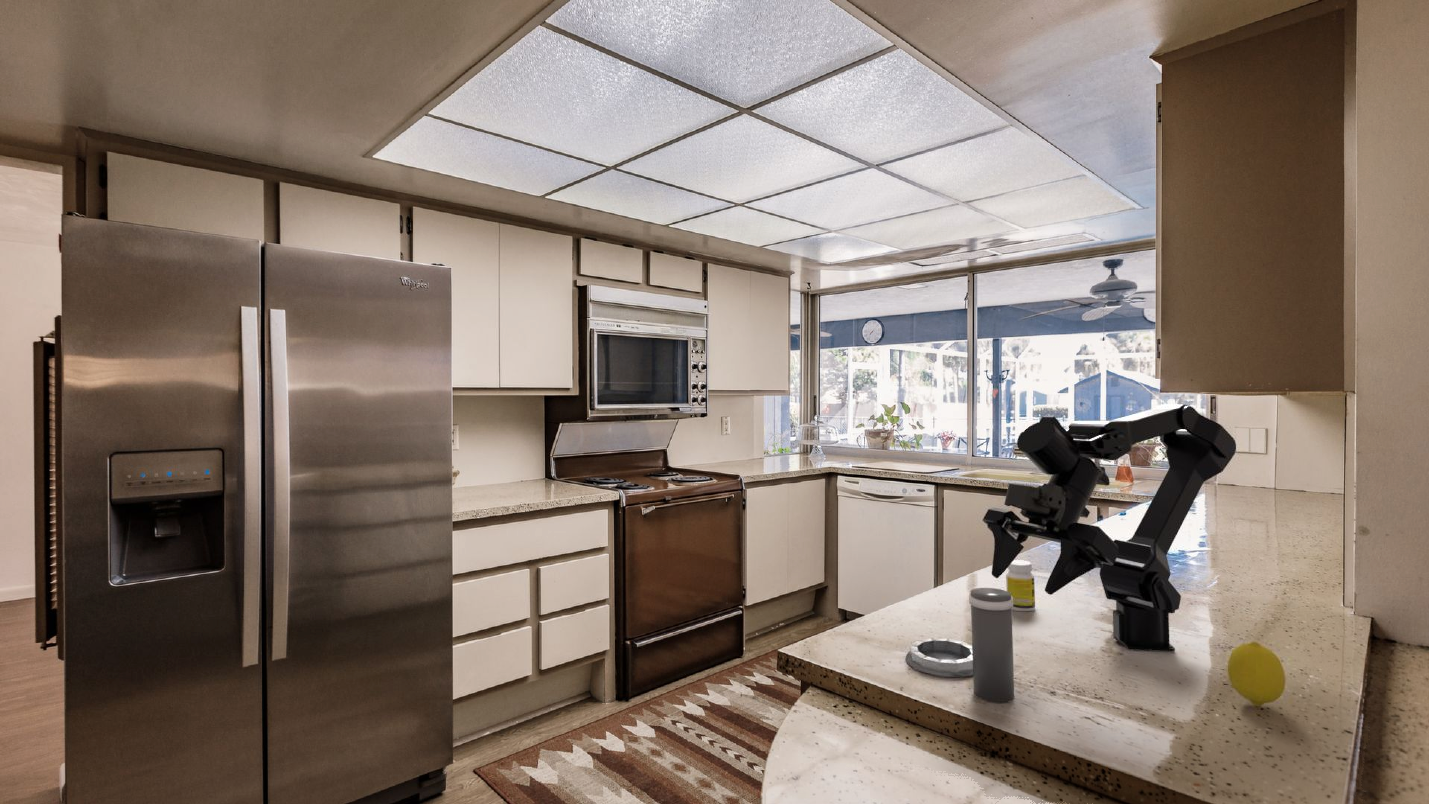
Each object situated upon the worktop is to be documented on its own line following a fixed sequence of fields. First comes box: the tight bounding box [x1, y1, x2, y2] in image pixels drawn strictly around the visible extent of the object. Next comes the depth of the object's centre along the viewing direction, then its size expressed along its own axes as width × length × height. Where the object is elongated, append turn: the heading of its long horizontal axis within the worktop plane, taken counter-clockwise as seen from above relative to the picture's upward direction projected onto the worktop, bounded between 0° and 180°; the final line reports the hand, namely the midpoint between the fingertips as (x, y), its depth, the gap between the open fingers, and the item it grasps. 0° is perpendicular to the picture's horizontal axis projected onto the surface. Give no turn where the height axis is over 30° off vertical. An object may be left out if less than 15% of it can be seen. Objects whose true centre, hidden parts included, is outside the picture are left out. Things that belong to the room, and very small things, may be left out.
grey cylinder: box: [968, 587, 1015, 704], centre depth 87 cm, size 5×5×14 cm
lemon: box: [1227, 641, 1286, 707], centre depth 82 cm, size 6×6×8 cm
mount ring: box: [905, 637, 973, 679], centre depth 98 cm, size 11×11×2 cm
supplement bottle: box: [1005, 559, 1036, 612], centre depth 121 cm, size 5×5×8 cm
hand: (1019, 584), depth 92 cm, fingers open, 9 cm apart
